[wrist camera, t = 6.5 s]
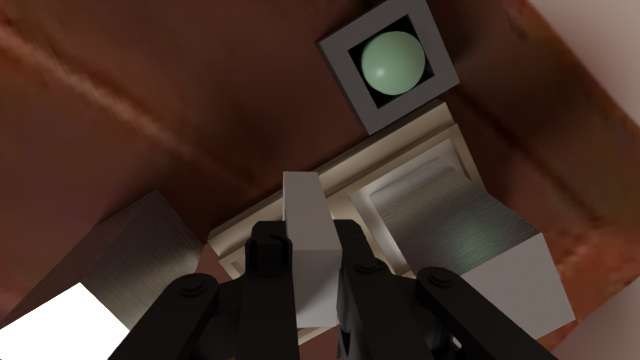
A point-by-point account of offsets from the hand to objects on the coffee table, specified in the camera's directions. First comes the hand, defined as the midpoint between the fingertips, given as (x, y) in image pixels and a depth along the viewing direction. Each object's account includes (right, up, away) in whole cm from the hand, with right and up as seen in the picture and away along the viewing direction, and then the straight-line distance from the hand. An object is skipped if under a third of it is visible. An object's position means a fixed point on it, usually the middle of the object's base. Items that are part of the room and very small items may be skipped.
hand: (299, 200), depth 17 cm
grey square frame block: (+6, +11, +15) cm, 19 cm away
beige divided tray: (+5, -4, +20) cm, 21 cm away
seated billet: (+10, -1, +18) cm, 20 cm away
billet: (-15, -4, +18) cm, 24 cm away
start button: (+6, +10, +13) cm, 18 cm away
